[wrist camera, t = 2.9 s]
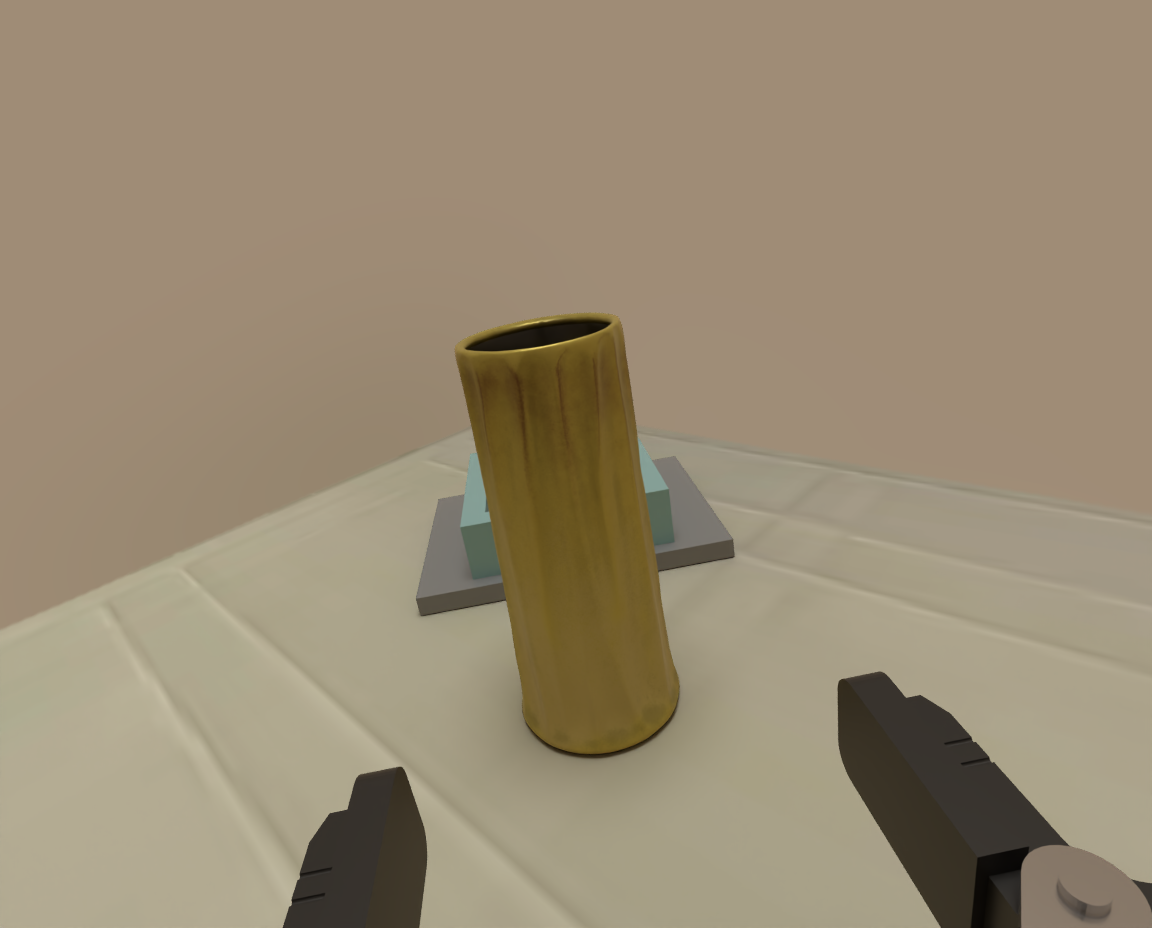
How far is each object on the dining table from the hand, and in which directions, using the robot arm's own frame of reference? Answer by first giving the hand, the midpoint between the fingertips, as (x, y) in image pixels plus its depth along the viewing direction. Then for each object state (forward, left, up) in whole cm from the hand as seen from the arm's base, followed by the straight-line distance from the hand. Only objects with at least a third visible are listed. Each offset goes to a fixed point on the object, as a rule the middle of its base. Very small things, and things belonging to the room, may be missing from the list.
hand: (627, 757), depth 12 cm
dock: (0, +25, -8) cm, 27 cm away
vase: (0, +11, -8) cm, 14 cm away
